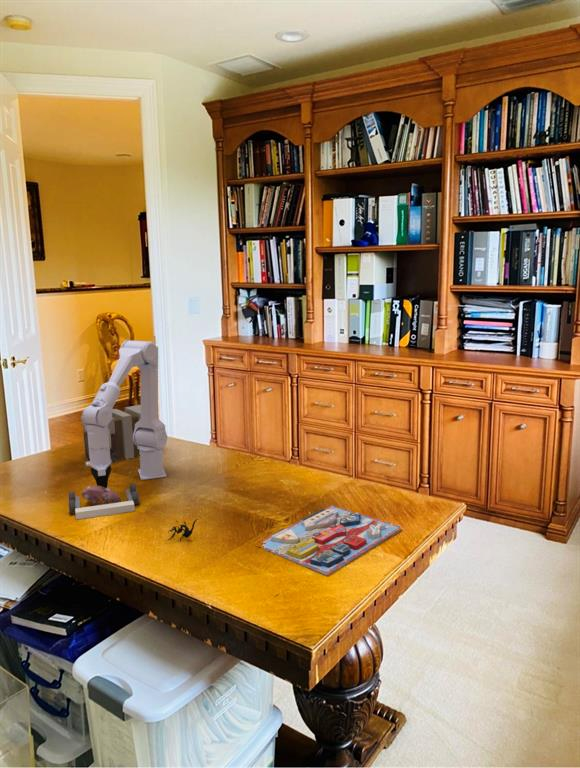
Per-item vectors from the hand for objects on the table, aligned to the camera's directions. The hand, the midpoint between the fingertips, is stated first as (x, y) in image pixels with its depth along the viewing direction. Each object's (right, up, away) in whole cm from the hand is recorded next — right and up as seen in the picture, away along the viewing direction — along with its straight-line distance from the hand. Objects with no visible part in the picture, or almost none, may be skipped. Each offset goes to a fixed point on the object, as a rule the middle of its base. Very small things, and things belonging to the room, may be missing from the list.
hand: (102, 491), depth 178 cm
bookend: (-6, +6, +41) cm, 42 cm away
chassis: (+2, -3, -5) cm, 6 cm away
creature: (+27, -8, -25) cm, 37 cm away
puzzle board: (+64, -8, -26) cm, 70 cm away
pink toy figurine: (0, -3, -3) cm, 4 cm away
